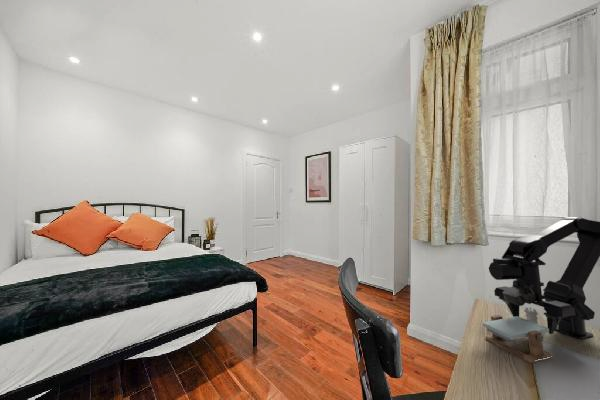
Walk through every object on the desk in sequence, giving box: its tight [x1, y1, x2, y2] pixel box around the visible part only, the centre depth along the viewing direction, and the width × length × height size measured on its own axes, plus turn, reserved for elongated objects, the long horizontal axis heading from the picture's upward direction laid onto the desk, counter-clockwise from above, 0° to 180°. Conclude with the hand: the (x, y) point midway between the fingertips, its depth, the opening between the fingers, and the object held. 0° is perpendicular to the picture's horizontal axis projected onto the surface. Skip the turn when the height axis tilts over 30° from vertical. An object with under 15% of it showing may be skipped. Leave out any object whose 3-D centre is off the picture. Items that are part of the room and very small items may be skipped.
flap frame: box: [485, 314, 553, 364], centre depth 67 cm, size 8×12×7 cm, turn 12°
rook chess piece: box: [523, 307, 544, 337], centre depth 74 cm, size 4×4×8 cm
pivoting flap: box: [481, 316, 549, 342], centre depth 67 cm, size 14×8×2 cm, turn 102°
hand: (532, 326), depth 74 cm, fingers open, 9 cm apart
